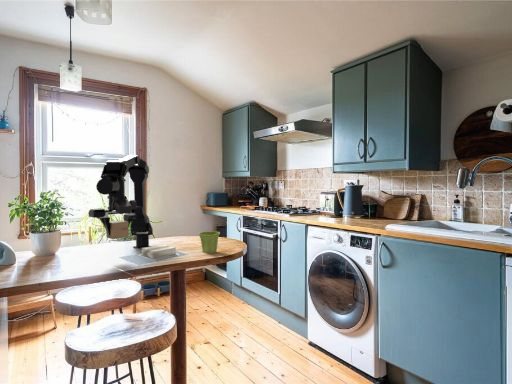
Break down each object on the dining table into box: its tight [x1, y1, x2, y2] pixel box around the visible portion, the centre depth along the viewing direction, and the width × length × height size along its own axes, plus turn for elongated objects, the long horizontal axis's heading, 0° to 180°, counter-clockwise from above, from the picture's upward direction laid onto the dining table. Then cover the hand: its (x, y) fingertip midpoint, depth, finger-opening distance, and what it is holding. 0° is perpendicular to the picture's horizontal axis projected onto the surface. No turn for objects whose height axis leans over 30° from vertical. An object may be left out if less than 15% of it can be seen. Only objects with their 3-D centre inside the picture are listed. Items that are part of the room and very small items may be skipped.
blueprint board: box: [118, 250, 189, 265], centre depth 129 cm, size 17×22×1 cm
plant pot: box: [198, 230, 221, 254], centre depth 137 cm, size 9×9×9 cm
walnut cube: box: [105, 219, 130, 240], centre depth 119 cm, size 6×6×6 cm
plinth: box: [141, 244, 177, 259], centre depth 130 cm, size 10×10×3 cm
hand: (117, 233), depth 119 cm, fingers closed on walnut cube, 6 cm apart
